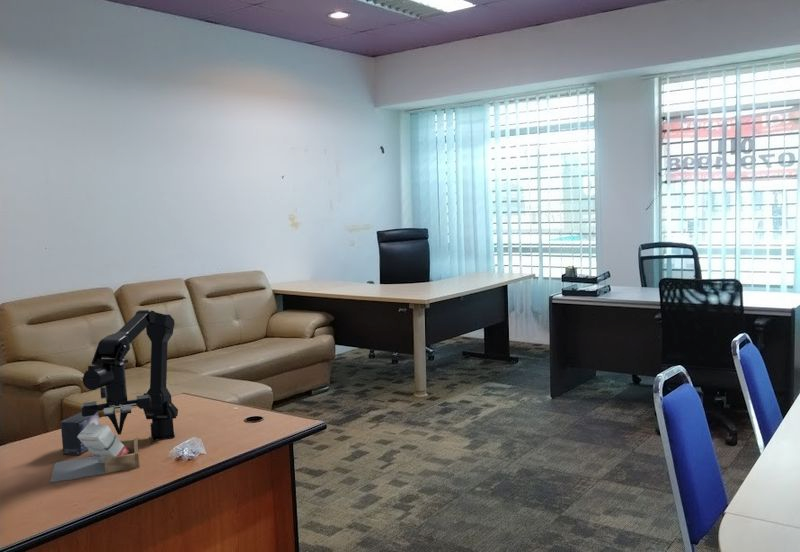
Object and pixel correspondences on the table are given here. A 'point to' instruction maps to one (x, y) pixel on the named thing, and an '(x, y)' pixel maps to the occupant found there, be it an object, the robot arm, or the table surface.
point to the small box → (75, 432)
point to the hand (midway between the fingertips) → (119, 434)
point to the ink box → (101, 442)
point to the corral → (124, 458)
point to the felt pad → (77, 469)
